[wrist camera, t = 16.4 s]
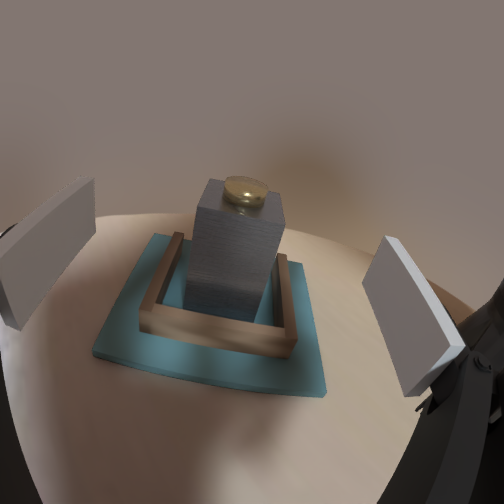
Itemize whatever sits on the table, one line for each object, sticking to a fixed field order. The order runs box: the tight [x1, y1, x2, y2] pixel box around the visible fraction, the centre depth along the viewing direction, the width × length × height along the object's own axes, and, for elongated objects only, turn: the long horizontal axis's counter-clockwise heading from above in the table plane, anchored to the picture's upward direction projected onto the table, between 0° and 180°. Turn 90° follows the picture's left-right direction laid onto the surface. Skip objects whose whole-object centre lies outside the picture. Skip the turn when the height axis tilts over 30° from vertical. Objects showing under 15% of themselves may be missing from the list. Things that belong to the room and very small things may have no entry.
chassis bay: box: [92, 232, 327, 398], centre depth 27 cm, size 18×18×3 cm
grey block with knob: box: [183, 176, 285, 323], centre depth 25 cm, size 6×6×11 cm
